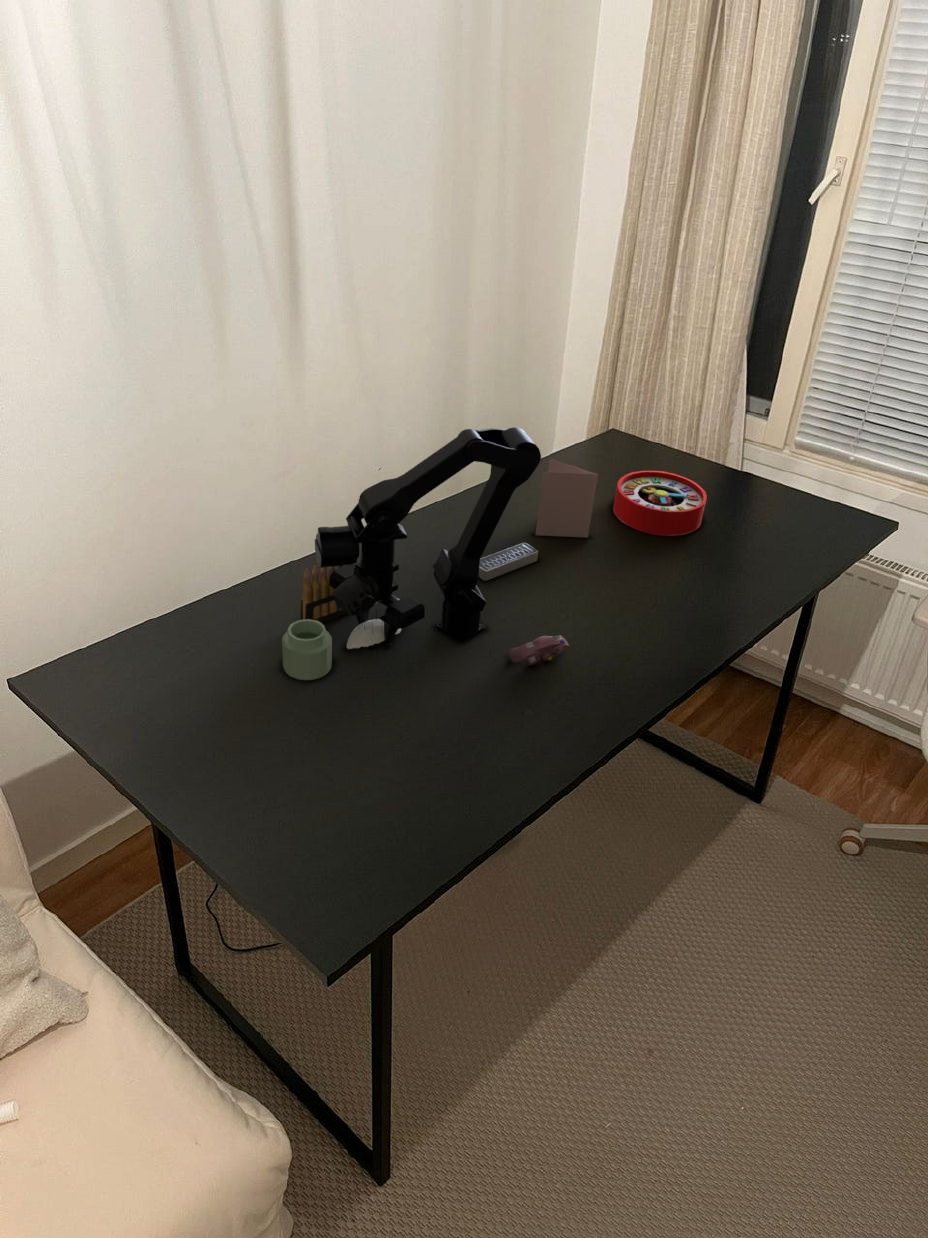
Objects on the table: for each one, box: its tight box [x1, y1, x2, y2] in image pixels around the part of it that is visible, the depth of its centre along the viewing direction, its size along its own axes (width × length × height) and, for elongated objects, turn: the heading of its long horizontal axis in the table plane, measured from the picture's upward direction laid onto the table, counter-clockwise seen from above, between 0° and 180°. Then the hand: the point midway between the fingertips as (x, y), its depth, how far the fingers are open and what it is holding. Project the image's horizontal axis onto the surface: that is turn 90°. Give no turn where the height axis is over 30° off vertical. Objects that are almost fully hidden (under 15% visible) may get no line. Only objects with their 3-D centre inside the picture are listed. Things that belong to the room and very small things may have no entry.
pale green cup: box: [281, 619, 333, 681], centre depth 170 cm, size 8×8×8 cm
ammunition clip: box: [300, 565, 348, 624], centre depth 181 cm, size 11×2×12 cm, turn 129°
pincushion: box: [346, 611, 402, 650], centre depth 178 cm, size 12×6×6 cm, turn 130°
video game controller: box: [508, 634, 570, 666], centre depth 176 cm, size 10×5×7 cm
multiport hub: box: [479, 542, 539, 582], centre depth 203 cm, size 4×14×2 cm, turn 130°
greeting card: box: [535, 458, 599, 538], centre depth 212 cm, size 11×7×15 cm, turn 58°
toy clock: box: [612, 470, 708, 537], centre depth 225 cm, size 20×6×20 cm
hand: (375, 634), depth 179 cm, fingers closed on pincushion, 6 cm apart
